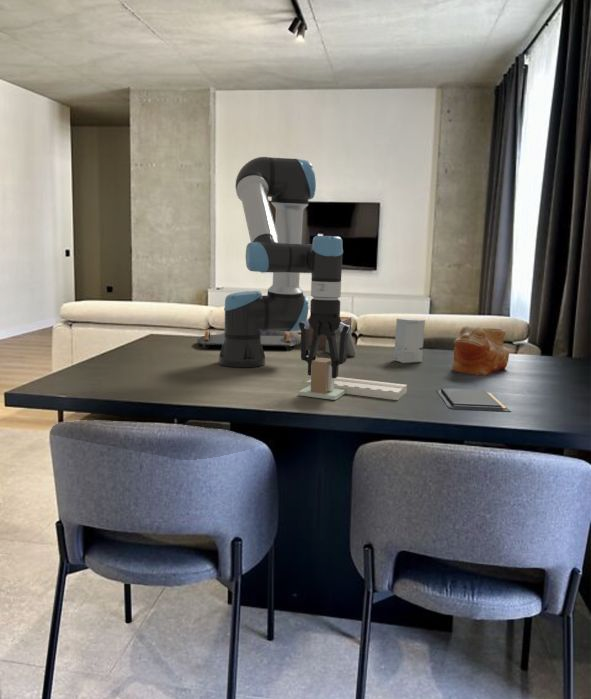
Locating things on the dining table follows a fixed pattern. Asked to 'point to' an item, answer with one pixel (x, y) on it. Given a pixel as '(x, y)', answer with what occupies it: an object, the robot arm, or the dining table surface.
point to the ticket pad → (369, 388)
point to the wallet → (471, 400)
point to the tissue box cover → (323, 338)
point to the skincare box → (409, 340)
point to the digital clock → (350, 344)
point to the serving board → (265, 340)
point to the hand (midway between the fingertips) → (322, 388)
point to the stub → (321, 381)
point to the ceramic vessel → (480, 351)
